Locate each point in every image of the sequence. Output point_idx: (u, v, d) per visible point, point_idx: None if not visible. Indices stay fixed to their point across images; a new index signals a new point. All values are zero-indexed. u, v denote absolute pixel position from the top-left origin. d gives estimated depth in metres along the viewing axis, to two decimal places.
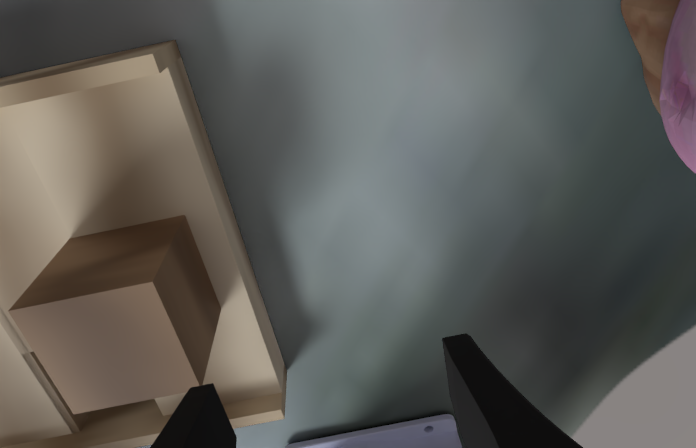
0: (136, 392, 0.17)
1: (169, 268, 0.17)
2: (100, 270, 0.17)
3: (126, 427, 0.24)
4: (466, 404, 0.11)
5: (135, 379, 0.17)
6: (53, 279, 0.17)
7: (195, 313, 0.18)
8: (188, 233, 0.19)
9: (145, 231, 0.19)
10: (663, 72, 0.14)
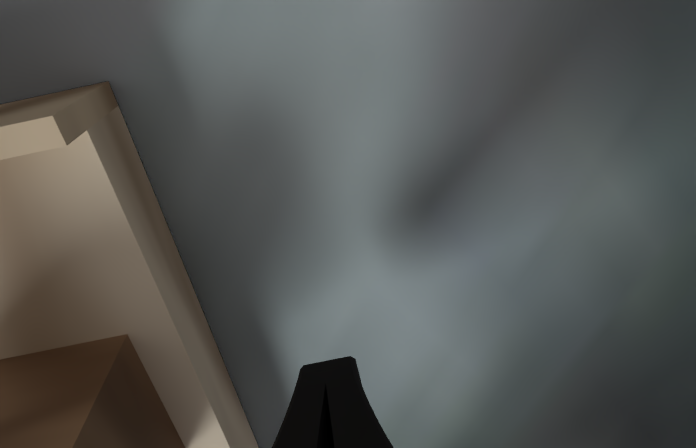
0: None
1: (89, 447, 0.11)
2: None
3: None
4: None
5: None
6: None
7: None
8: (131, 361, 0.13)
9: (65, 365, 0.13)
10: None
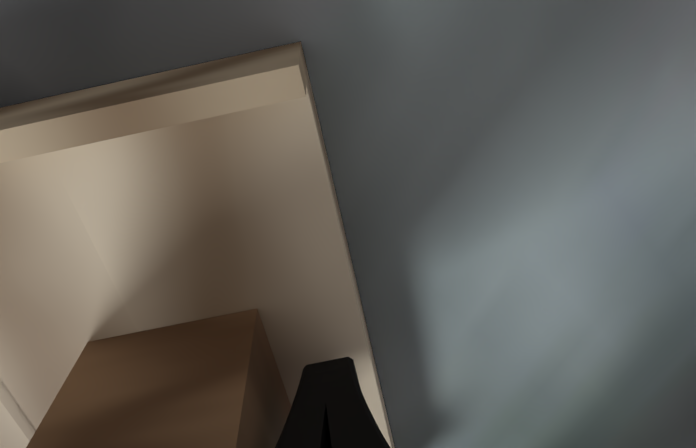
0: None
1: (249, 416, 0.11)
2: (140, 422, 0.10)
3: None
4: None
5: None
6: (65, 433, 0.10)
7: None
8: (262, 336, 0.13)
9: (202, 338, 0.12)
10: None
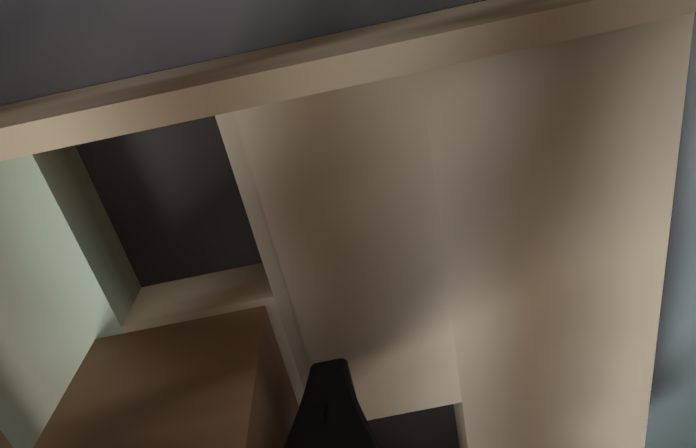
0: None
1: (258, 412, 0.11)
2: (149, 419, 0.10)
3: None
4: None
5: None
6: (75, 430, 0.10)
7: None
8: (270, 333, 0.13)
9: (210, 335, 0.12)
10: None
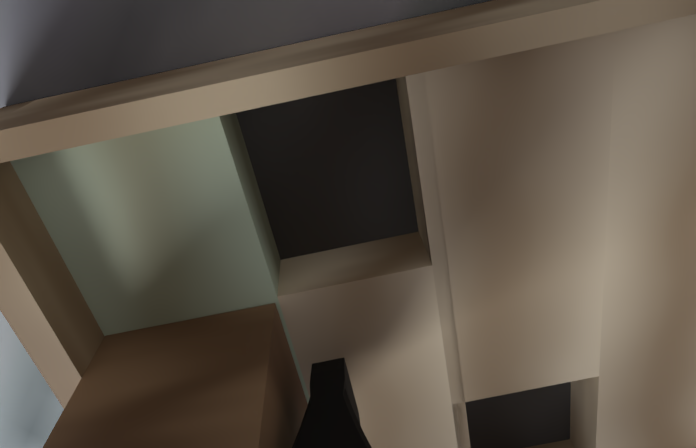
0: None
1: (270, 410, 0.11)
2: (161, 415, 0.10)
3: None
4: None
5: None
6: (86, 426, 0.10)
7: None
8: (280, 330, 0.13)
9: (220, 332, 0.12)
10: None
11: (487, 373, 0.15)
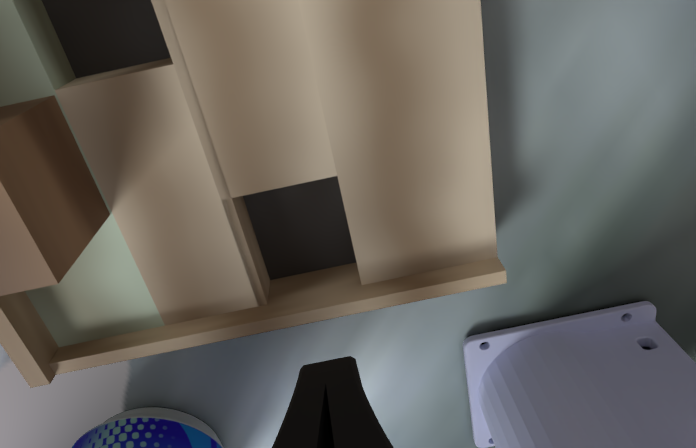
0: None
1: (14, 137, 0.14)
2: None
3: (322, 297, 0.21)
4: None
5: None
6: None
7: (59, 201, 0.16)
8: (57, 115, 0.17)
9: (3, 109, 0.16)
10: None
11: (243, 170, 0.18)
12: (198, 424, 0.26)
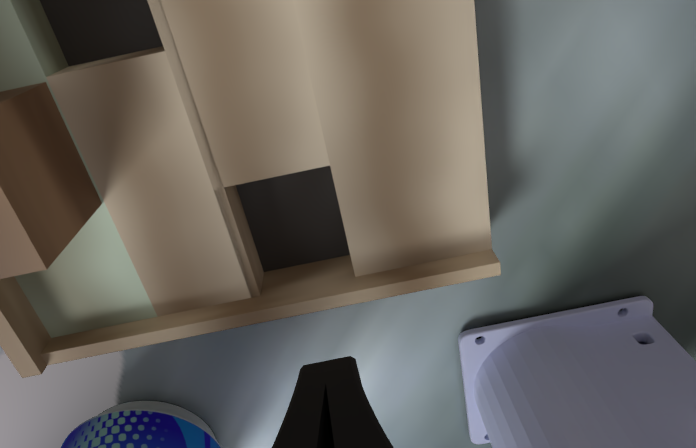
0: None
1: (3, 121, 0.14)
2: None
3: (315, 288, 0.21)
4: None
5: None
6: None
7: (49, 187, 0.16)
8: (48, 102, 0.17)
9: None
10: None
11: (235, 159, 0.18)
12: (192, 418, 0.26)
